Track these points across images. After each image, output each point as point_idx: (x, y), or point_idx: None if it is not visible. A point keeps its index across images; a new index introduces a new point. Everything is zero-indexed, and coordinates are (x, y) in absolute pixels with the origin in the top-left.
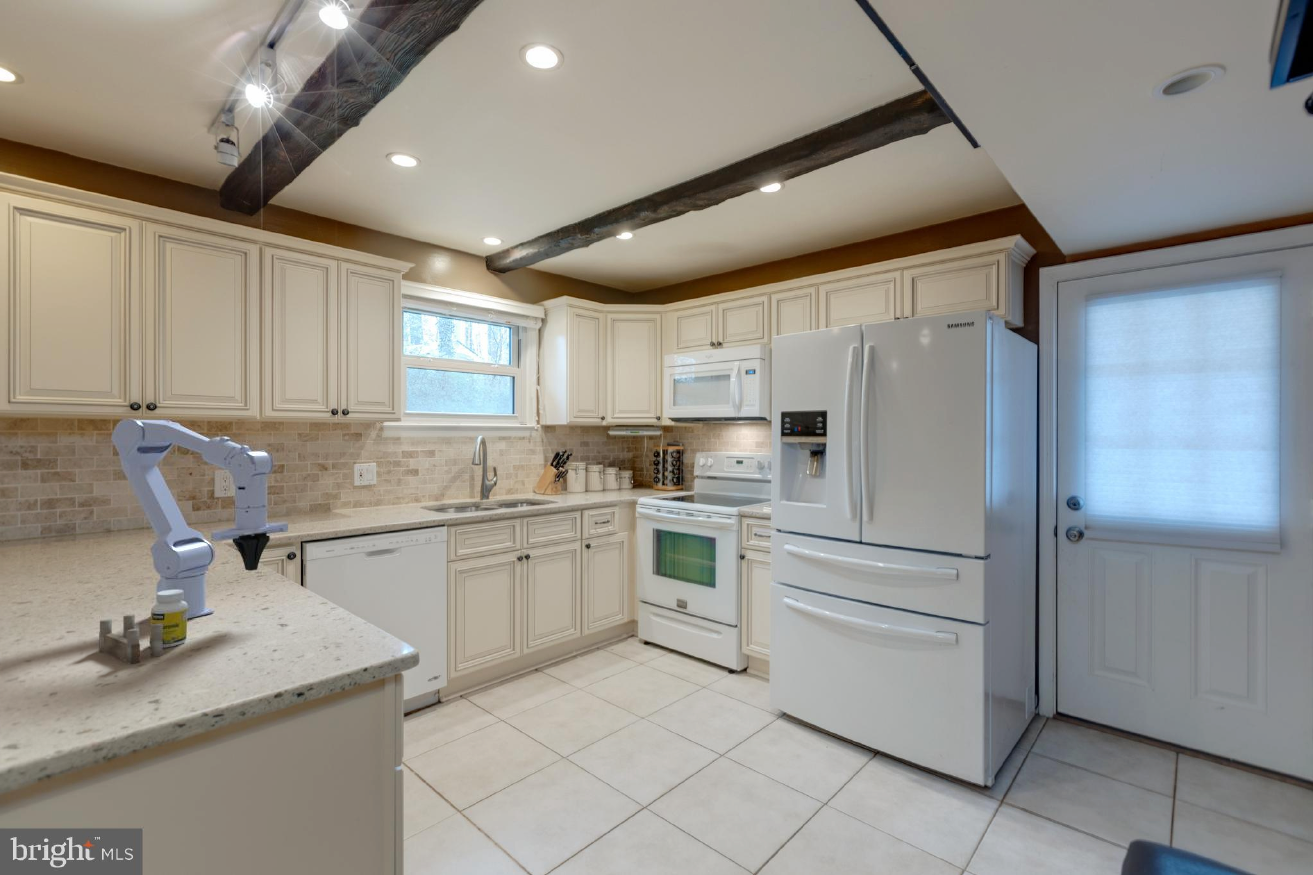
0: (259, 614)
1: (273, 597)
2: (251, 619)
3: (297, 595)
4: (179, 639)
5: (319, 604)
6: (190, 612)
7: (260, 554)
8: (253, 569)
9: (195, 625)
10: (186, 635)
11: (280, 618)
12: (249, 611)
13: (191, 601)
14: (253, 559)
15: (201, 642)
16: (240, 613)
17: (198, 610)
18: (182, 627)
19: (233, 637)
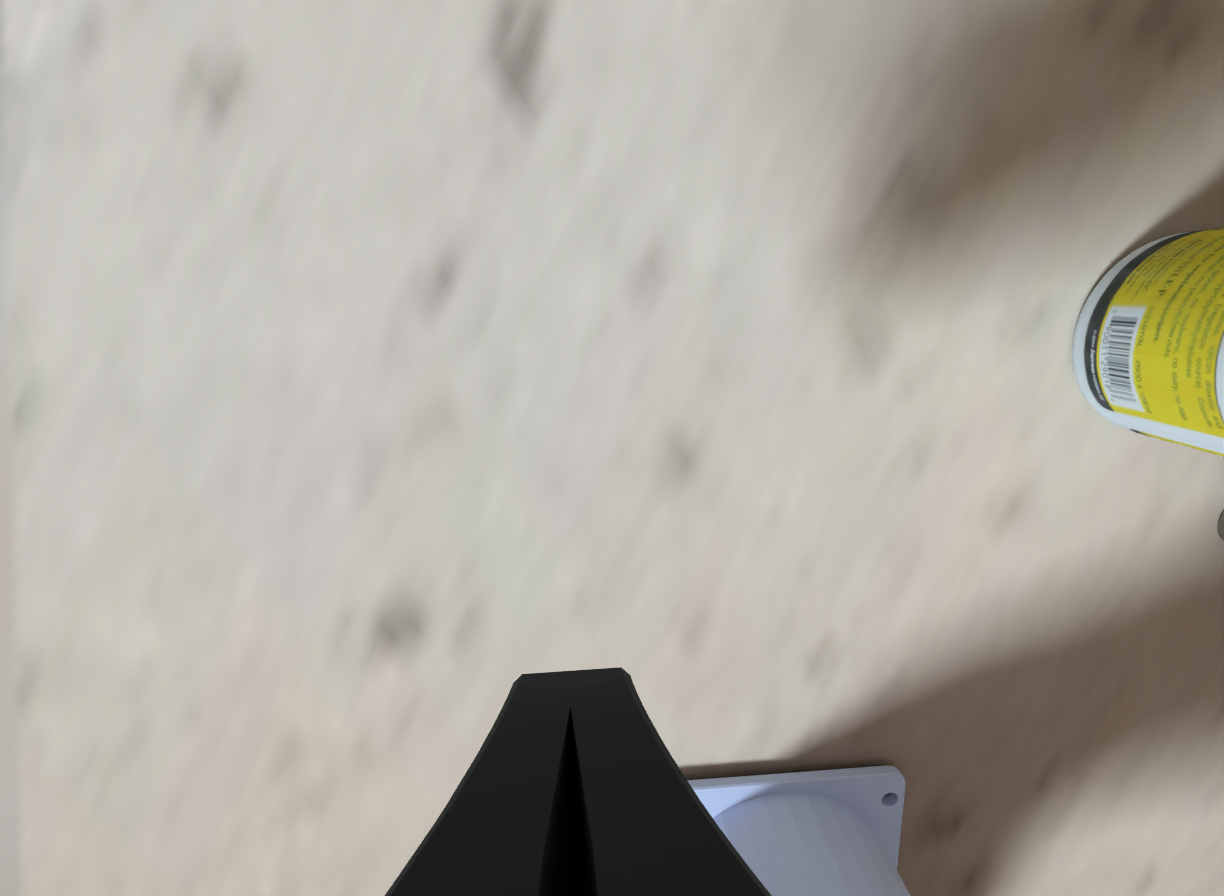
0: (494, 516)
1: (235, 856)
2: (589, 437)
3: (83, 782)
4: (1191, 233)
5: (45, 395)
6: (805, 808)
7: (422, 886)
8: (581, 675)
9: (857, 606)
10: (1113, 294)
11: (445, 268)
12: (501, 647)
13: (829, 876)
14: (609, 793)
15: (1059, 168)
16: (562, 648)
17: (756, 815)
18: None
19: (896, 75)
